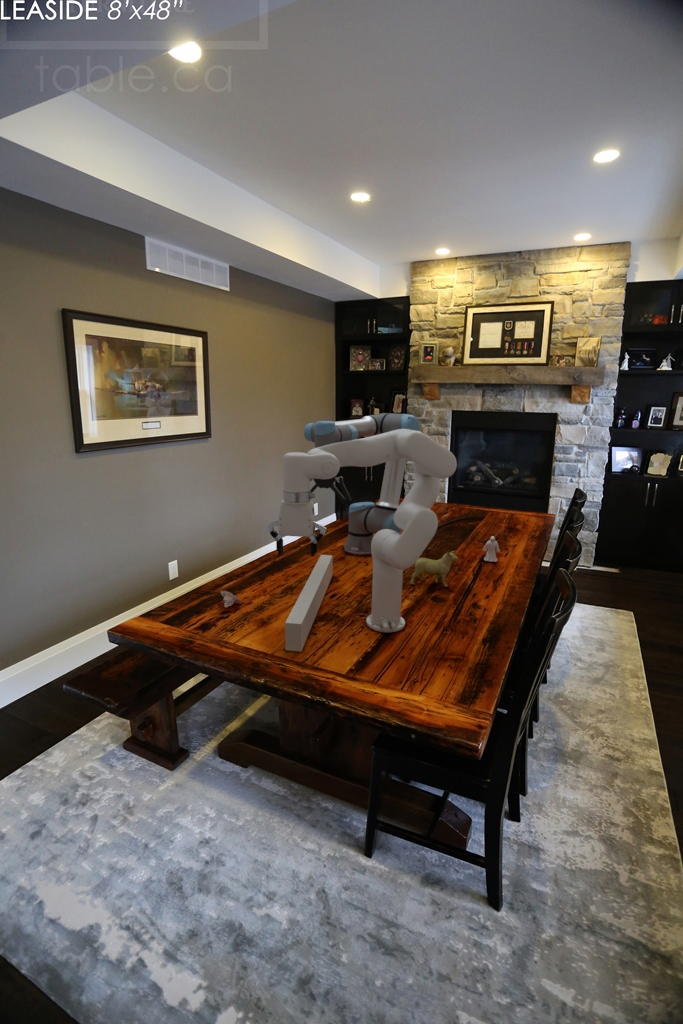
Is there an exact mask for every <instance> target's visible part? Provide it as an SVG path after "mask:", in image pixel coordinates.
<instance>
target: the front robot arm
mask: <svg viewBox="0 0 683 1024" xmlns="http://www.w3.org/2000/svg"><path fill="white" fill-rule="evenodd" d="M282 457H283V458H282V487H283V488H282V490H283V491H282V492H283V493H282V498H283V499H282V500H281V501H280V506H279V512H278V513H279V514H278V519H277V520H275V521H273V522H270V523H267V525H266V528H267V530H268V532H269V535H270V536H271V537H272V538H273V539H274V541H275V542H276V543H275V545H276V552H277V555H278V556H279V555H282V554H283V552H284V539H283V537H284V536H285V537H297V538H299V537H300V538H309V540H310V541H311V543H310V557H311V558H313V557H315V555H316V554H317V553H318V542H320V541H321V539H323V537H324V536H325V534H326V533H327V531H328V528H327V527H326V526H325V525H323V524H321V523H320V522H318V521H316V512H315V511H316V510H315V505H314V501H313V500H311V499H316V493H313V492H312V493H311V482H310V478H314V479H331V478H333V477H337V475H338V473H339V472H340V468H343V467H358V468H359V467H360V468H368V467H374V466H378V465H382V464H386V462H388V461H392V460H395V459H399V458H406V460H410V461H411V462H412V466H413V469H414V477H415V478H414V482H413V484H412V486H411V488H410V490H409V491H408V493H407V494H406V496H405V497H404V499H403V500H402V501H401V503H399V505H400V506H399V507H398V509H397V510H396V512H395V514H394V518H393V519H394V523H395V525H396V526H397V527H398V528H399V529H401V533H398V532H396V531H394V530H391V529H382V530H380V531H378V532H377V533H376V534H375V533H374V534H373V536H374V537H373V539H372V543H371V552H372V555H371V558H372V560H371V561H372V585H371V586H372V587H371V607H370V609H371V613H370V615H368V616H367V617H366V621H365V622H366V623H365V624H366V625H367V627H368V628H369V629H372V630H373V631H376V632H379V633H396V632H398V631H402V630H403V629H404V628H405V626H406V620H405V618H403V617H402V615H401V614H402V599H403V598H402V597H403V580H404V570H407V569H410V568H411V567H412V566H414V563H415V562H416V561H417V560H418V558H421V555H422V554H423V552H424V551H425V550H426V548H427V547H428V546H429V544H430V543H431V541H432V540H433V538H434V537H435V536H436V533H437V530H438V528H437V527H438V526H439V519H438V516H437V514H436V513H435V512H434V511H433V510H432V508H433V506H434V504H435V503H436V501H437V499H438V497H439V495H440V490H441V480H444V479H445V480H446V479H449V478H450V477H452V476H453V475H454V474H455V472H456V470H457V467H458V462H457V458H456V456H455V455H454V454H453V452H452V451H451V450H449V449H447V448H446V447H445V446H443V445H442V444H440V443H438V442H437V441H435V440H434V439H432V438H431V437H430V436H428V435H427V434H425V433H423V432H422V431H420V432H419V431H415V430H409V429H397V430H393V431H389V432H386V433H382V434H378V435H374V436H370V437H363V438H357V439H355V440H350V441H345V442H339V443H333V444H329V445H325V446H321V447H317V448H315V447H313V448H312V449H309V450H308V451H307V452H300V451H294V452H293V451H292V452H291V451H290V452H287V453H284V455H283V456H282ZM440 479H441V480H440ZM277 526H278V532H277V531H276V530H275V527H277ZM316 529H317V530H319V531H320V532H319V534H316V533H315V532H316Z"/></svg>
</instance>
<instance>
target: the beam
mask: <svg viewBox="0 0 683 1024" xmlns="http://www.w3.org/2000/svg"><path fill="white" fill-rule="evenodd" d="M333 559H334V555H333V554H332V555H331V554H320V556H319V557H318V559H317V562H316V563H315V565H314V567H313V569H312V570H311V573H310V575H309V576H308V578H307V581H306V582H305V584H304V586H303V588H302V589H301V592H300V593H299V596H298V597H297V600H296V601H295V603H294V605H293V607H292V609H291V610H290V612H289V615H288V617H287V619H286V620H285V622H284V641H285V642H284V648H285V649H284V650H285V651H288V652H302V651H303V648H304V646H305V644H306V641H307V639H308V637H309V634H310V632H311V629H312V626H313V624H314V622H315V620H316V617H317V614H318V612H319V609H320V607H321V605H322V603H323V599H324V598H325V595H326V592H327V590H328V588H329V585H330V583H331V581H332V578H333V573H334V572H333V571H334V567H333V566H334V565H333V564H334V563H333V562H334V561H333Z"/></svg>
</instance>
